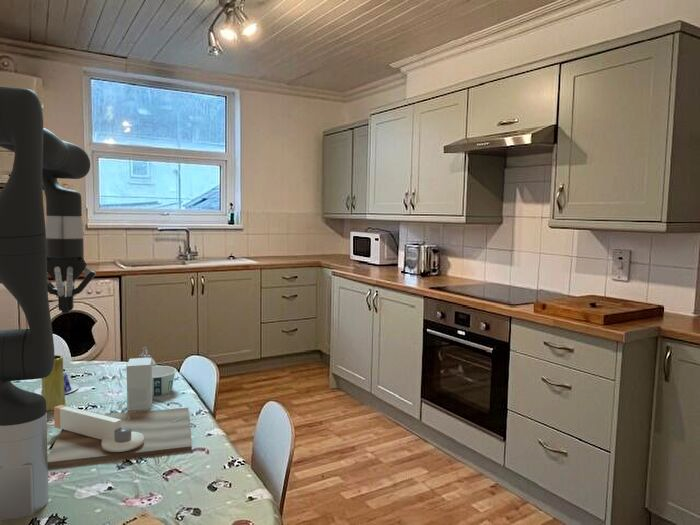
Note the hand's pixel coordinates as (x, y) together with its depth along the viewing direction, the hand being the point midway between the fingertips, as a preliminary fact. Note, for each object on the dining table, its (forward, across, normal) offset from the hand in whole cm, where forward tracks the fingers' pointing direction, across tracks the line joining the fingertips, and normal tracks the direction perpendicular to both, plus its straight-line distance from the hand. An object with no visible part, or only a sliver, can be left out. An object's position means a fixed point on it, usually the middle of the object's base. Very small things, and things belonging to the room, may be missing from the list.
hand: (66, 312), depth 120 cm
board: (+32, +12, +3) cm, 34 cm away
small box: (+32, +14, +25) cm, 43 cm away
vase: (+32, -9, +30) cm, 45 cm away
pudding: (+33, -11, +45) cm, 57 cm away
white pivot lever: (+30, +12, -5) cm, 33 cm away
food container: (+32, +18, +37) cm, 52 cm away
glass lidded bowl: (+32, +15, +68) cm, 77 cm away
